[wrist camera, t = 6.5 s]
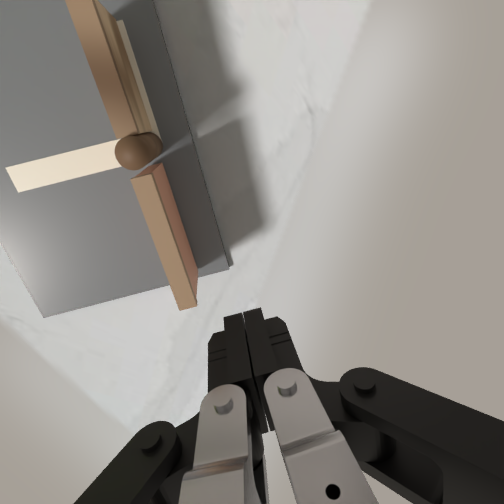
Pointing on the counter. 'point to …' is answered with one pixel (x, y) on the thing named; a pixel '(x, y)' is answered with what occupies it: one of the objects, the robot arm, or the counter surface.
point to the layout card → (88, 161)
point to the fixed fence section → (115, 83)
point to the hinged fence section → (167, 233)
